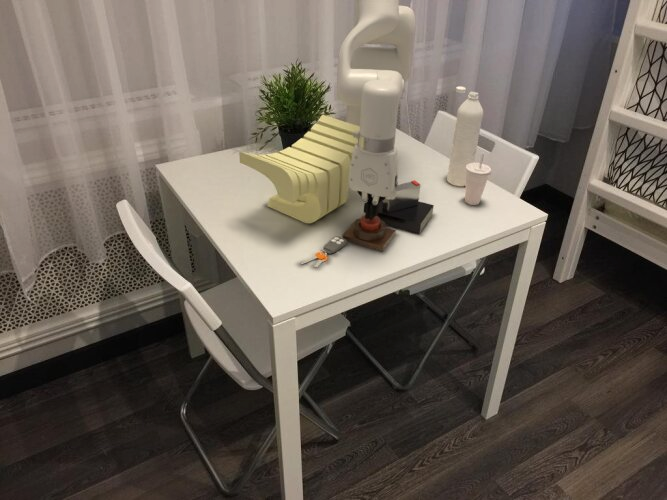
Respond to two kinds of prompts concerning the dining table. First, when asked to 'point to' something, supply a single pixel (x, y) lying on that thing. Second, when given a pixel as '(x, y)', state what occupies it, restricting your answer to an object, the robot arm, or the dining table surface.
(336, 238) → the key chain
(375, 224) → the button
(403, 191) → the silver metal block
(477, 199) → the smoothie
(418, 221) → the plate
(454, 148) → the water bottle
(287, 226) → the dining table surface
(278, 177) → the slatted curved stool
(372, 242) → the button block
